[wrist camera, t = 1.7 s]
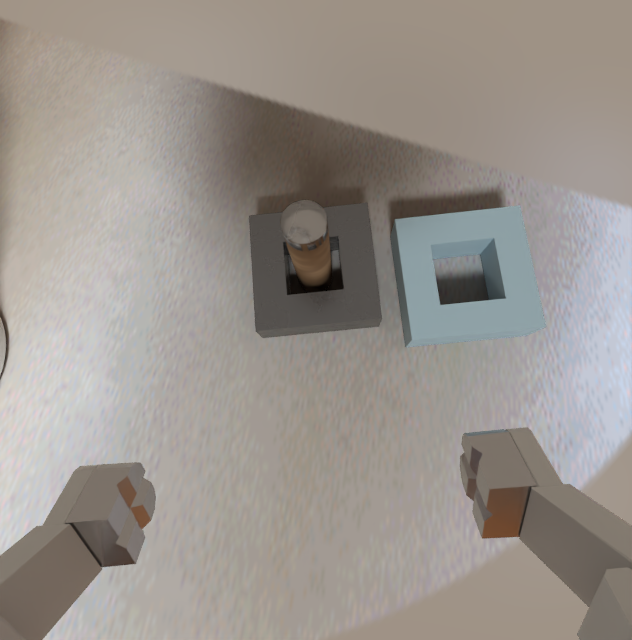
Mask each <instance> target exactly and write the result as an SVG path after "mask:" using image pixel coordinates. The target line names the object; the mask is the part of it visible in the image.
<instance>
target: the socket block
mask: <svg viewBox="0 0 632 640" xmlns="http://www.w3.org/2000/svg"><path fill="white" fill-rule="evenodd" d="M323 209H324V210H325V212H326V214H327V219H328V230H329V242H330V251H332V250H339V257H340V267H341V276H342V285H343V289H341V290H332V291H322V292H312V293H303V294H293V295H291V292H290V279H289V266H288V255H290V253H289V250H288V247H287V244H286V241H285V238H284V235H283V233H282V230H281V225H280V220H281V216H282V213H283V212H278V213H269V214H260V215H251V216H249V222H250V240H251V257H252V275H253V292H254V310H255V328H256V332H257V333H258V334H259V335H260V336H261V337H262V338H267V337H277V336H287V335H297V334H307V333H318V332H328V331H338V330H348V329H358V328H368V327H378V326H379V325H380V322H381V320H382V315H381V308H380V300H379V292H378V284H377V276H376V268H375V260H374V252H373V244H372V236H371V228H370V220H369V212H368V204H367V203H359V204H350V205H341V206H332V207H323Z"/></svg>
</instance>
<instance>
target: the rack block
mask: <svg viewBox="0 0 632 640" xmlns="http://www.w3.org/2000/svg"><path fill="white" fill-rule="evenodd" d="M391 245H392V252H393V259H394V267H395V274H396V281H397V289H398V296H399V303H400V310H401V318H402V325H403V332H404V340H405V347H414V346H424V345H435V344H445V343H455V342H466V341H476V340H487V339H497V338H507V337H518V336H527V335H529V334H531V333H534V332H536V331H538V330H541V329H543V328H545V327H546V324H545V319H544V315H543V310H542V305H541V301H540V296H539V291H538V287H537V282H536V277H535V273H534V268H533V263H532V259H531V254H530V249H529V245H528V240H527V235H526V231H525V226H524V221H523V217H522V212H521V207H520V206H511V207H502V208H493V209H484V210H474V211H465V212H456V213H447V214H438V215H429V216H420V217H411V218H401V219H395V221H394V225H393V229H392V233H391ZM477 254H480V255H481V261H482V266H483V271H484V277H485V282H486V287H487V293H488V298H489V300H485V301H475V302H465V303H456V304H446V305H440V301H439V294H438V288H437V282H436V276H435V269H434V263H433V259H439V258H449V257H458V256H468V255H477Z"/></svg>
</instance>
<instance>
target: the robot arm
mask: <svg viewBox="0 0 632 640" xmlns="http://www.w3.org/2000/svg"><path fill="white" fill-rule="evenodd" d="M5 353H6V338H5V331H4V326H3V323H2V320H1V317H0V375H1V372H2V369H3V365H4V360H5ZM462 447H463V449H464V453H463V454H462V455H461V456H460V471H461V478H462V482H463V486H464V489H465V492H466V495H467V496H468V497H469V498H470V499H472V500H473V501H474V503H473V515H474V518H475V521H476V523H477V526H478V529H479V532H480V535H481V537H482V539H483V538H505V537H520V538H519V539H520V540H521V541H522V542H523V543H524V544H525V545H526V546H527V547H528V548H529V549H530V550H531V551H532V552H533V553H534V554H535V555H536V556H537V557H538V558H539V559H540V560H541V561H543V562H544V564H546V566H547V567H548V568H550V569H551V570H552V571H553V572H554V573H555V574H556V575H557V576H558V577H559V578H560V579H561V580H562V581H563V582H564V583H565V584H566V585H567V586H568V587H569V588H570V589H571V590H572V591H573V592H574V593H575V594H576V595H577V596H578V597H579V598H580V599H581V600H582V601H583V602H584V603H585V604H586V605H587V606H588V607H589V609H588V611H587V614H586V616H585V618H584V620H583V622H582V625H581V627H580V629H579V631H578V633H577V635H578V637H579V639H580V640H632V526H631V525H630V524H629V523H627V522H626V521H624V520H623V519H621V518H620V517H618V516H617V515H615V514H614V513H612V512H610V511H609V510H608V509H606V508H605V507H603V506H602V505H600V504H599V503H597V502H596V501H594V500H593V499H591V498H590V497H588V496H587V495H585V494H584V493H582V492H581V491H579V490H578V489H576V488H575V487H573V486H572V485H570V484H563V483H562V482H561V480H560V478H559V477H558V475H557V473H556V471H555V470H554V468H553V466H552V465H551V463H550V461H549V460H548V458H547V456H546V455H545V453H544V451H543V450H542V448H541V446H540V445H539V443H538V441H537V439H536V438H535V436H534V434H533V433H532V431H531V430H530V429H528V428H516V429H506V430H504V429H502V430H492V431H482V432H472V433H464V434H463V436H462ZM144 474H145V469H144V468H143V466H142V464H141V463H136V462H135V463H118V464H102V465H90V466H80V467H79V468H77V469H76V470H75V471H74V472H73V474H72V476H71V477H70V479H69V481H68V483H67V484H66V486H65V488H64V489H63V491H62V493H61V495H60V496H59V498H58V500H57V501H56V503H55V505H54V507H53V508H52V510H51V512H50V514H49V515H48V517H47V519H46V520H45V522H44V524H43V526H36V527H35V528H34V529H33V530H31V531H30V532H29V533H28V534H26V535H25V536H24V537H23V538H22V539H20V540H19V541H18V542H17V543H15V544H14V545H13V546H12V547H11V548H9V549H8V550H7V551H6V552H4V553H3V554H2V555H1V556H0V640H42V639H43V638H44V637H45V636H46V635H47V633H48V632H49V631H50V630H51V629H52V628H53V626H54V625H55V624H56V623H57V622H58V621H59V619H60V618H61V617H62V616H63V615H64V614H65V612H66V611H67V610H68V609H69V608H70V607H71V605H72V604H73V603H74V602H75V601H76V600H77V598H78V597H79V596H80V595H81V594H82V592H83V591H84V590H85V589H86V588H87V587H88V585H89V584H90V583H91V582H92V581H93V580H94V578H95V577H96V576H97V575H98V574H99V573H100V571H101V570H102V568H101V567H110V566H119V565H129V564H136V562H137V559H138V556H139V553H140V551H141V548H142V545H143V542H144V539H145V535H144V533H143V530H142V529H143V528H144V527H145V526H146V525H147V524H148V523H149V522H150V521H151V519H152V516H153V513H154V510H155V500H156V496H155V490H154V487H153V485H152V483H151V482H150V481H148V480H146V479H145V478H143V476H144Z"/></svg>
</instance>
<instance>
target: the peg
mask: <svg viewBox="0 0 632 640" xmlns="http://www.w3.org/2000/svg"><path fill="white" fill-rule="evenodd" d="M280 225H281V230H282V233H283V235H284V238H285V241H286V244H287V247H288V250H289V253H290V256H291V259H292V262H293V265H294V268H295V271H296V274H297V277H298V280H299V283H300V285H301V287H302V288H303V289H304V290H306V291H307V292H310V293H312V292H322V291H325V290H326V289H327V288H328V287H329V286H330V284H331V282H332V266H331V254H330V242H329V230H328V219H327V214H326V212H325V210H324V209H323V208H322V206H320V205H319V204H318V203H316V202H314V201H310V200H299V201H296V202H293V203H292V204H290V205H289V206H288V207H287V208H286V209H285V210H284V212H283V213H282V216H281V220H280Z"/></svg>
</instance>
